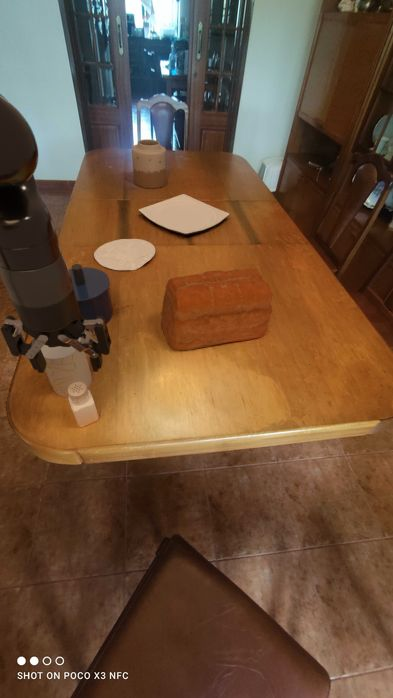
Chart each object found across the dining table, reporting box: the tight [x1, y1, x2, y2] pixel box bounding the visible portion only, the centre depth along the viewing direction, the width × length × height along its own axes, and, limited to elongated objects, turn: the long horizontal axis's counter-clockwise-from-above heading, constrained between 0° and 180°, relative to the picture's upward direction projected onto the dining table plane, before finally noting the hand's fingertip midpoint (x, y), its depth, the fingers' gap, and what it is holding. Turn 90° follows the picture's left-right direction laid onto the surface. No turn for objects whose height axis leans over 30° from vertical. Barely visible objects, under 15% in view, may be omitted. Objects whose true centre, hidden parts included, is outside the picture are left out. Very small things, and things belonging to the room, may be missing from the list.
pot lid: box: [68, 263, 111, 302], centre depth 76 cm, size 14×14×6 cm
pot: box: [77, 287, 114, 332], centre depth 81 cm, size 13×13×10 cm
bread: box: [160, 268, 274, 351], centre depth 78 cm, size 14×27×15 cm, turn 106°
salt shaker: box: [67, 382, 100, 428], centre depth 60 cm, size 4×4×10 cm
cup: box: [41, 338, 93, 398], centre depth 64 cm, size 8×8×12 cm
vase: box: [131, 138, 167, 190], centre depth 145 cm, size 15×15×17 cm
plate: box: [138, 193, 230, 236], centre depth 126 cm, size 29×29×3 cm
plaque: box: [93, 238, 156, 271], centre depth 105 cm, size 20×20×2 cm
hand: (70, 368), depth 52 cm, fingers open, 8 cm apart
